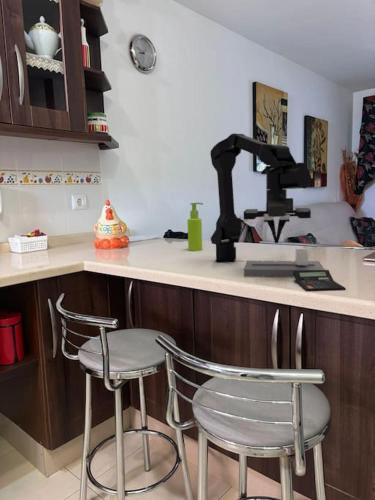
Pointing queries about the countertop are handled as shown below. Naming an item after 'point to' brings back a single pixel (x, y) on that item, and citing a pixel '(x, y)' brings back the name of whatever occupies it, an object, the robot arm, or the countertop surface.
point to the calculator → (316, 280)
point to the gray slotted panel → (278, 268)
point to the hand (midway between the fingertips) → (276, 243)
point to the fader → (301, 256)
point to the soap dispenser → (194, 230)
